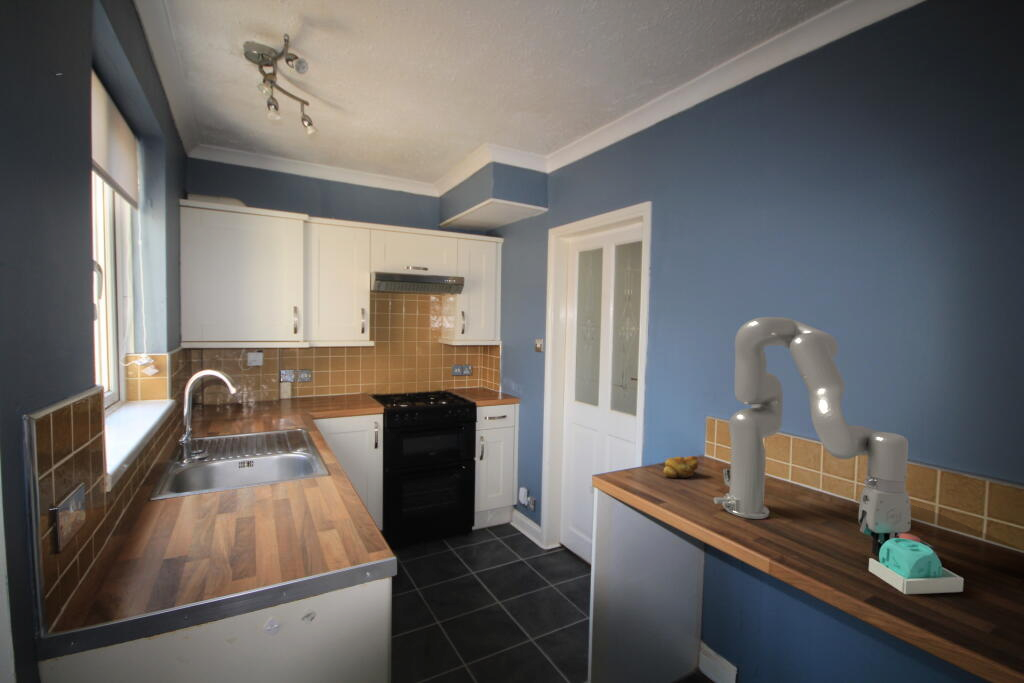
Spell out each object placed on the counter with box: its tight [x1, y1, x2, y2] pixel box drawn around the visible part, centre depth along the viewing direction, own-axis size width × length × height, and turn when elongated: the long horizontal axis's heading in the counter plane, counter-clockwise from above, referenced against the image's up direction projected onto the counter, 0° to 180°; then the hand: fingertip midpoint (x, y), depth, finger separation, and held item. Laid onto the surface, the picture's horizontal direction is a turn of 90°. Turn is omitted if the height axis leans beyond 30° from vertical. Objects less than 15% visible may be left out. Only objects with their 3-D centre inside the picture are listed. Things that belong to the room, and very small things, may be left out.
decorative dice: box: [878, 538, 943, 579], centre depth 106 cm, size 8×8×8 cm
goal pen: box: [868, 557, 964, 595], centre depth 106 cm, size 14×9×3 cm
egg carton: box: [722, 467, 730, 488], centre depth 167 cm, size 11×8×4 cm
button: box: [899, 532, 921, 543], centre depth 117 cm, size 4×4×4 cm
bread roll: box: [663, 455, 699, 479], centre depth 174 cm, size 13×10×8 cm
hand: (880, 556), depth 115 cm, fingers closed
